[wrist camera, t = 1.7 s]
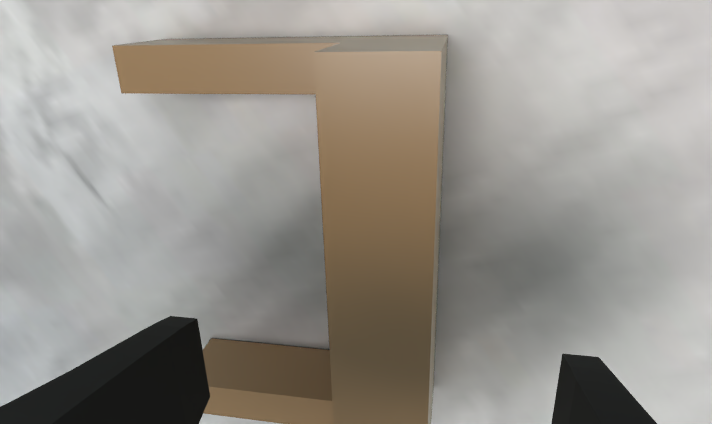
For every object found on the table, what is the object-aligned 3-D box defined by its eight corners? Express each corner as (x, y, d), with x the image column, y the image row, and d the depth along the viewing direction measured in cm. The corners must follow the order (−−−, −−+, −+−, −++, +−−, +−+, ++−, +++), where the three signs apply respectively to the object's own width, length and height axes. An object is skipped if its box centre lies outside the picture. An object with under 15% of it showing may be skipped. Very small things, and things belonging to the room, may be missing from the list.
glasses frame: (215, 363, 20) (142, 471, 15) (163, 39, 15) (38, 54, 11) (433, 387, 18) (424, 515, 14) (447, 34, 14) (441, 50, 9)
